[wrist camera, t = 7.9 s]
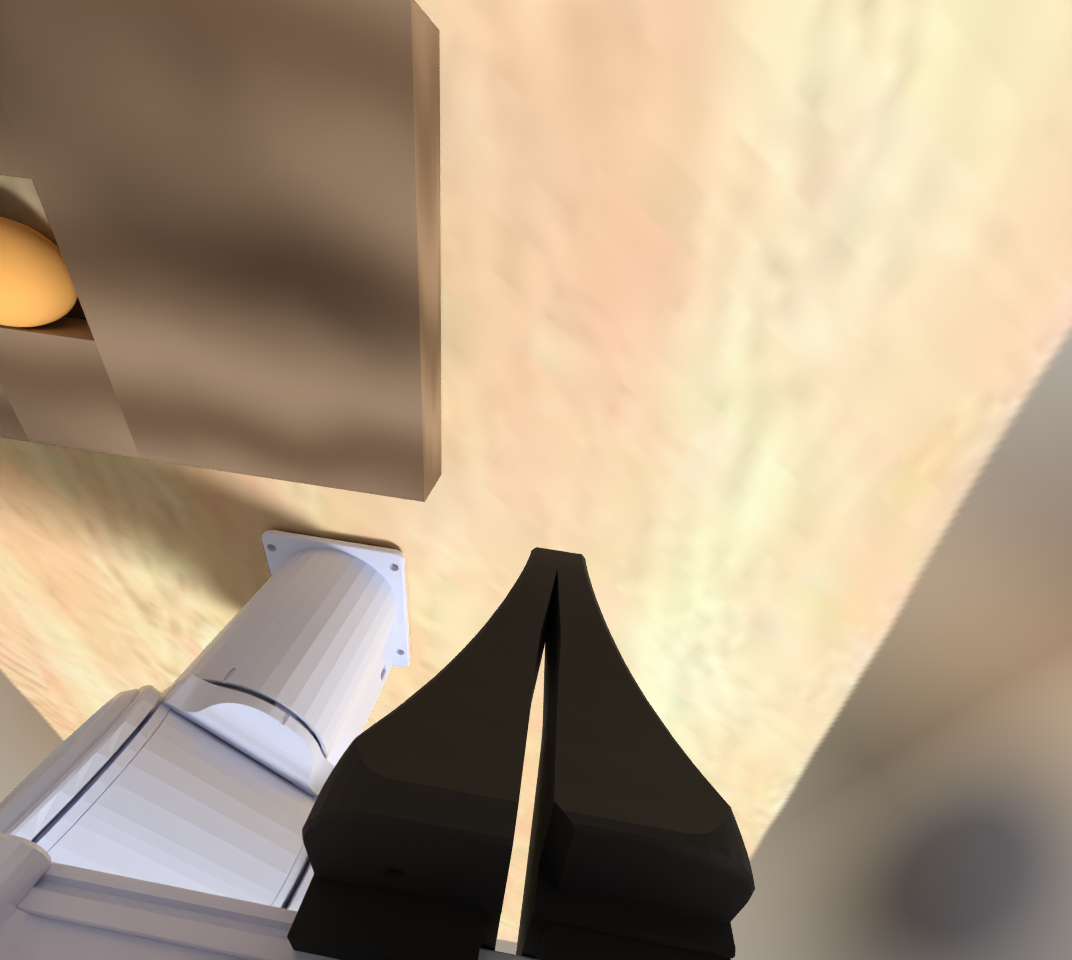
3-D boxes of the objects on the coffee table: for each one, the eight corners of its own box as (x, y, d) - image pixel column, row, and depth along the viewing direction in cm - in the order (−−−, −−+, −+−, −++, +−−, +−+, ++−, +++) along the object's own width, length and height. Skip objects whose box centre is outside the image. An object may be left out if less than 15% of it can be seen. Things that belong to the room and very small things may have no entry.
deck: (441, 474, 22) (424, 501, 20) (22, 411, 23) (-37, 431, 21) (439, 30, 14) (410, -5, 12) (-204, -34, 15) (-338, -77, 13)
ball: (124, 303, 20) (51, 348, 17) (38, 298, 20) (-48, 343, 18) (58, 201, 17) (-42, 236, 15) (-41, 197, 18) (-159, 230, 15)
